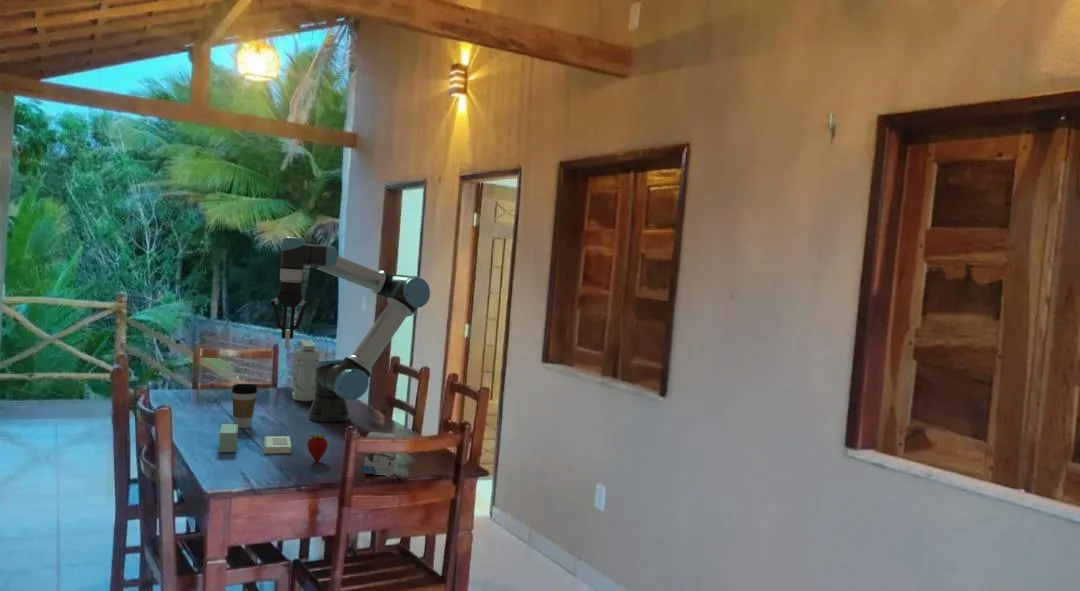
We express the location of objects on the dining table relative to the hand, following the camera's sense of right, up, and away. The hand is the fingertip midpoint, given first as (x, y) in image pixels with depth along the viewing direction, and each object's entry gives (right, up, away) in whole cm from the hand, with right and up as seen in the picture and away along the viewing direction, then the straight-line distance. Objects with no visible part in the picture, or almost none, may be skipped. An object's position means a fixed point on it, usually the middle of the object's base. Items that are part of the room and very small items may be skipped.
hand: (286, 348), depth 268 cm
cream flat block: (+4, -31, -22) cm, 38 cm away
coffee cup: (-17, -28, +3) cm, 33 cm away
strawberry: (+21, -33, -35) cm, 52 cm away
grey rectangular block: (-10, -30, -27) cm, 41 cm away
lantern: (-13, -26, +62) cm, 69 cm away
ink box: (+41, -35, -42) cm, 69 cm away
